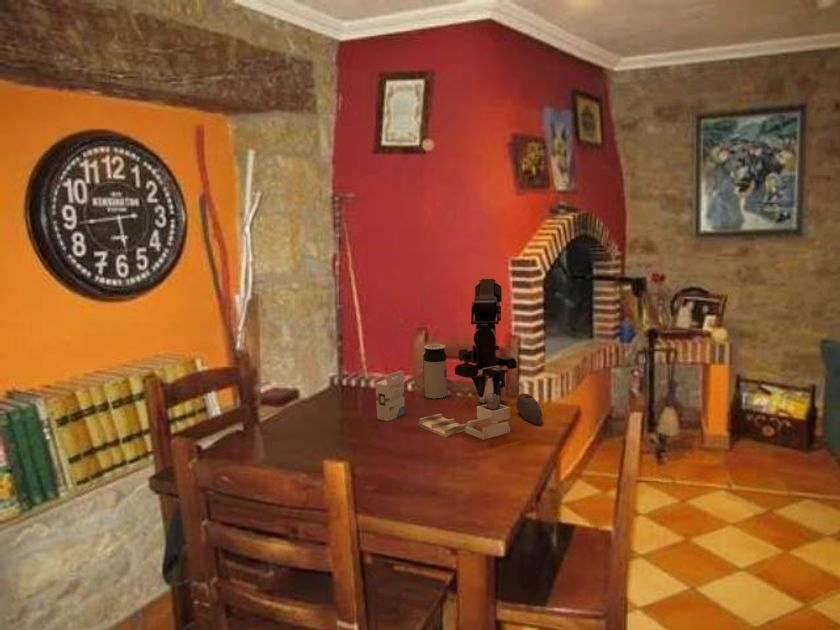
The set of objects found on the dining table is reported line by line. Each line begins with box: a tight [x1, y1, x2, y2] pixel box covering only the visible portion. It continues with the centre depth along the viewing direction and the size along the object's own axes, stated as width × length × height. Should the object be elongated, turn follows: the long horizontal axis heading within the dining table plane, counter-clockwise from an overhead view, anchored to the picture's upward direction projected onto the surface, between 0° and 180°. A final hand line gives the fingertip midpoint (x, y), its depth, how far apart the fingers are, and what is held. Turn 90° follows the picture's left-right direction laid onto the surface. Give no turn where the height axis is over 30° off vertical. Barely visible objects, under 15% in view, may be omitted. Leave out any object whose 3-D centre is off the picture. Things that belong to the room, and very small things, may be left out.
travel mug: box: [423, 343, 448, 400], centre depth 228 cm, size 8×8×18 cm
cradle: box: [464, 416, 511, 440], centre depth 188 cm, size 10×8×4 cm
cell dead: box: [487, 394, 500, 411], centre depth 200 cm, size 4×4×8 cm
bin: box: [476, 404, 511, 423], centre depth 201 cm, size 7×7×4 cm
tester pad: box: [476, 421, 495, 432], centre depth 188 cm, size 5×5×2 cm
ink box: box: [375, 370, 406, 422], centre depth 206 cm, size 9×5×15 cm, turn 143°
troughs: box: [417, 413, 467, 438], centre depth 194 cm, size 9×14×2 cm, turn 34°
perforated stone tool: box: [515, 392, 543, 426], centre depth 199 cm, size 15×5×7 cm, turn 9°
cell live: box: [479, 374, 494, 403], centre depth 186 cm, size 4×4×8 cm
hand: (486, 395), depth 186 cm, fingers closed on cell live, 4 cm apart
